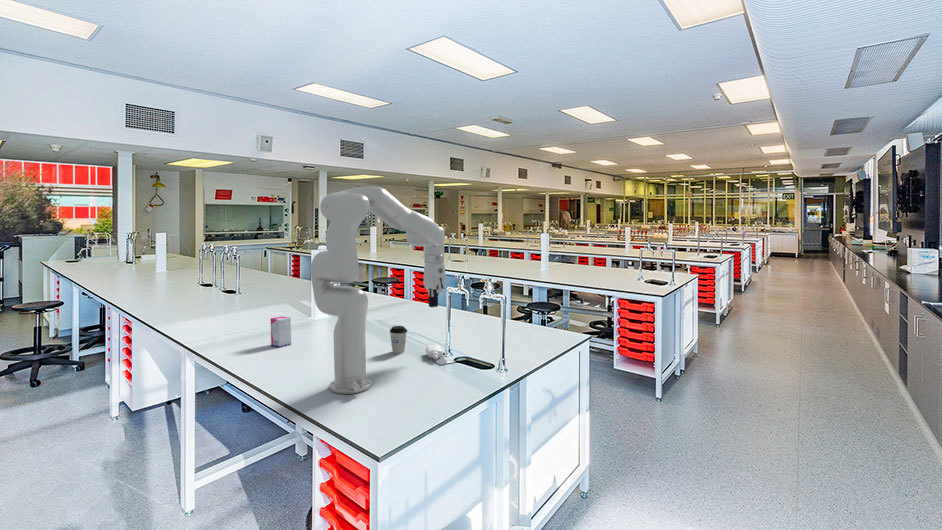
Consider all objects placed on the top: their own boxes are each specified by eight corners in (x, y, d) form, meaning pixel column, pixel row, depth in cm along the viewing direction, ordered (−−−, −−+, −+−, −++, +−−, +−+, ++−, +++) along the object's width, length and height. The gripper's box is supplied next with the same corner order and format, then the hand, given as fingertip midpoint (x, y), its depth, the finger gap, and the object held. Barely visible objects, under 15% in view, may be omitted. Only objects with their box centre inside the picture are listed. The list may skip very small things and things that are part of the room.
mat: (464, 361, 170) (464, 360, 170) (440, 365, 165) (440, 364, 165) (447, 352, 180) (447, 351, 180) (425, 356, 175) (425, 355, 175)
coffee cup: (402, 348, 185) (402, 324, 184) (410, 353, 180) (410, 328, 178) (386, 351, 181) (386, 326, 180) (394, 355, 176) (393, 330, 175)
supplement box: (292, 344, 190) (291, 317, 188) (279, 347, 185) (278, 320, 183) (283, 342, 193) (282, 315, 191) (270, 345, 188) (269, 318, 186)
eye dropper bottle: (436, 356, 180) (440, 365, 168) (423, 350, 178) (426, 359, 167) (441, 346, 180) (445, 355, 168) (429, 340, 178) (432, 348, 167)
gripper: (452, 260, 171) (451, 309, 172) (433, 257, 183) (432, 303, 185) (434, 260, 167) (433, 310, 168) (416, 258, 179) (415, 304, 181)
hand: (433, 306), depth 177 cm, fingers closed
